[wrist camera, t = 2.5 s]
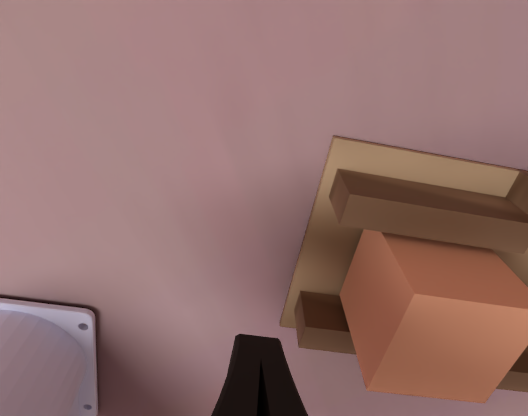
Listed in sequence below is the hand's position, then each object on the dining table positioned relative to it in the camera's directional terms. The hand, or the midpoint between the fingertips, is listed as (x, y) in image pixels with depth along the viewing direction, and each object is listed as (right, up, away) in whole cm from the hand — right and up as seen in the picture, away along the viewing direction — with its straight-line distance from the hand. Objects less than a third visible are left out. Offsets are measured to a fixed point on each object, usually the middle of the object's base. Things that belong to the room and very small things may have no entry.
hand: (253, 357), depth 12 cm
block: (+7, +2, +7) cm, 10 cm away
